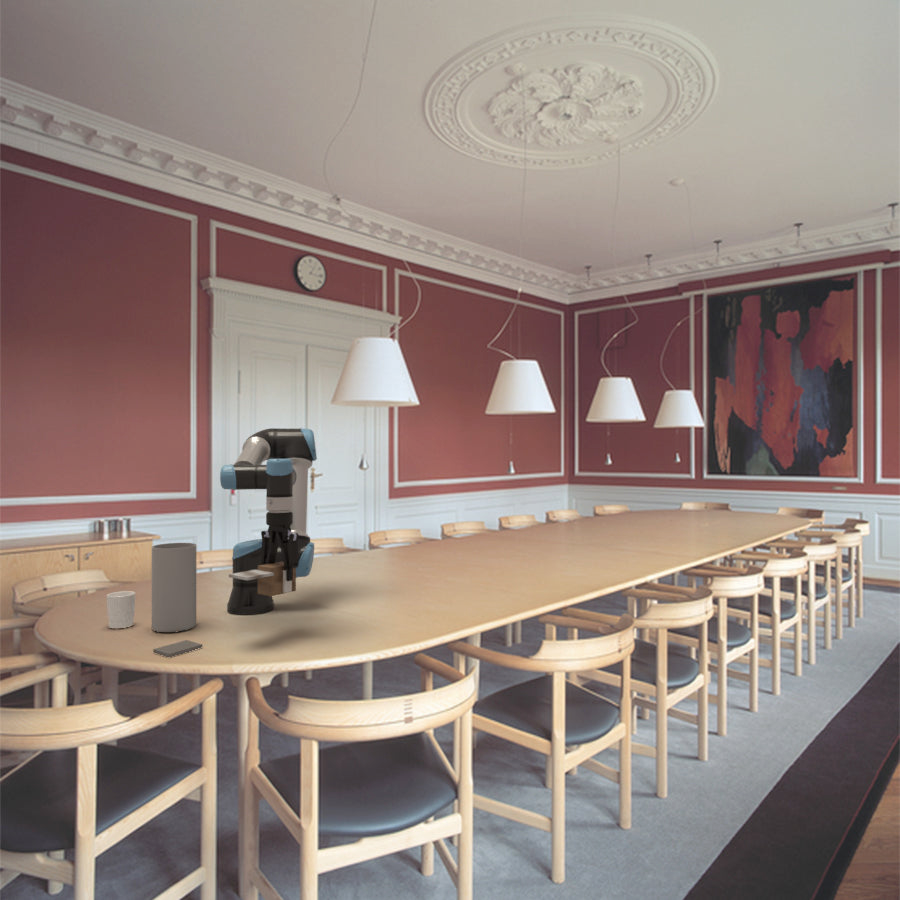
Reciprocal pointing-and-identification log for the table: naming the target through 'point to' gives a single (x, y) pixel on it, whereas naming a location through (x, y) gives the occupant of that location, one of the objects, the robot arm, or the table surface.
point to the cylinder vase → (173, 587)
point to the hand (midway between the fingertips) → (279, 590)
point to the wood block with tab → (267, 578)
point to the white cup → (121, 609)
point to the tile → (177, 648)
